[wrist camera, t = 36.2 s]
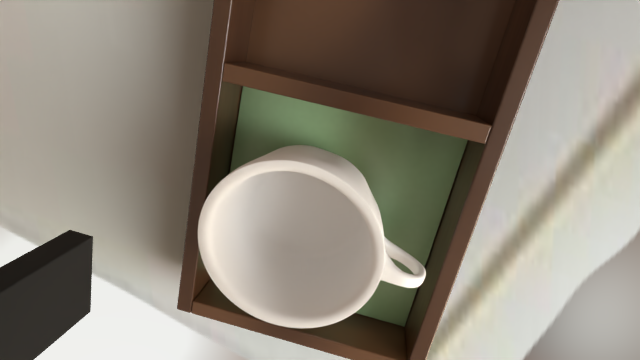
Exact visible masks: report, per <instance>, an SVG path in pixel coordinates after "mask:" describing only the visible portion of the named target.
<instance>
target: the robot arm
mask: <svg viewBox="0 0 640 360" xmlns="http://www.w3.org/2000/svg"><path fill="white" fill-rule="evenodd" d="M92 246H93V236H89V235H86V234H82V233H79V232H75V231H72V230H69V231H67V232H65V233H63V234H61V235H60V236H58V237H56V238H54V239H52V240H50V241H48V242H47V243H45V244H43V245H41V246H39V247H37V248H35V249H34V250H32V251H30V252H28V253H26V254H24V255H22V256H21V257H19V258H17V259H15V260H13V261H11V262H10V263H8V264H6V265H4V266H2V267H0V360H34V359H35V358H36V357H37V356H38V355H40V354H41V353H42V352H43V351H44V350H45V349H47V348H48V347H49V346H50V345H51V344H53V343H54V342H55V341H56V340H57V339H58V338H59V337H61V336H62V335H63V334H64V333H66V332H67V331H68V330H69V329H70V328H71V327H73V326H74V325H75V324H76V323H77V322H78V321H79V320H81V319H82V318H83V317H84V316H85V315H87V314H88V313H89V312H90V305H91V275H92Z"/></svg>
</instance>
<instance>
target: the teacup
mask: <svg viewBox="0 0 640 360" xmlns="http://www.w3.org/2000/svg"><path fill="white" fill-rule="evenodd" d="M198 244H199V250H200V254H201V257H202V260H203V263H204V266H205V268H206V270H207V272H208V274H209V275H210V277H211V279H212V280H213V282H214V283H215V285H216V286H217V287H218V288H219V290H220V291H221V292H222V293H223V294H224V295H225V296H226V297H227V298H228V299H229V300H230V301H231V302H233V303H234V304H235V305H236V306H238V307H239V308H240V309H242V310H244V311H245V312H247V313H248V314H250V315H252V316H254V317H256V318H258V319H261V320H263V321H266V322H268V323H271V324H275V325H279V326H284V327H290V328H316V327H322V326H327V325H330V324H333V323H336V322H339V321H341V320H343V319H345V318H347V317H349V316H351V315H352V314H354V313H355V312H356V311H358V310H359V309H360V308H361V307H362V306H363V305H364V304H365V303H366V302H367V301H368V300H369V299H370V298H371V296H372V295H373V293H374V292H375V290H376V288H377V286H378V284H379V282H380V280H382V281H386V282H389V283H392V284H395V285H398V286H402V287H407V288H416V287H418V286H420V285H421V284H422V283H423V281H424V279H425V276H426V271H425V268H424V266H423V265H422V264H421V263H420V262H419V261H418V260H416V259H415V258H414V257H412V256H411V255H410V254H408V253H407V252H405V251H404V250H402V249H401V248H399V247H398V246H396V245H395V244H393V243H392V242H391V241H389V240H388V239H387V238H385V237H384V231H383V224H382V219H381V214H380V211H379V208H378V205H377V203H376V201H375V199H374V197H373V195H372V193H371V190H370V188H369V186H368V184H367V182H366V180H365V178H364V176H363V175H362V173H361V172H360V171H359V170H358V169H357V168H356V167H355V166H354V165H353V164H352V163H350V162H349V161H348V160H346V159H344V158H343V157H341V156H339V155H336V154H334V153H331V152H328V151H326V150H323V149H320V148H317V147H313V146H308V145H292V146H286V147H282V148H279V149H277V150H275V151H272V152H270V153H268V154H266V155H264V156H262V157H259V158H257V159H255V160H252V161H250V162H248V163H246V164H244V165H242V166H240V167H239V168H237V169H235V170H234V171H232V172H231V173H230V174H229V175H227V176H226V177H225V178H224V179H223V180H221V181H220V182H219V183H218V184H217V185H216V186H215V188H214V189H213V190H212V191H211V193H210V194H209V196H208V197H207V199H206V201H205V203H204V205H203V208H202V210H201V214H200V218H199V223H198ZM390 258H393V259H395V260H397V261H399V262H401V263H402V264H404V265H405V266H406V267H408V268H409V269H410V270H411V271H412V272H413V274H414V275H413V274H408V273H406V272H404V271H402V270H400V269H399V268H398V267H397V266H396V265H395V264H394V263H393V262H392V260H391V259H390Z"/></svg>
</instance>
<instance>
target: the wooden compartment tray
mask: <svg viewBox="0 0 640 360" xmlns="http://www.w3.org/2000/svg"><path fill="white" fill-rule="evenodd" d="M558 2H559V0H214V5H213V14H212V22H211V30H210V39H209V47H208V55H207V64H206V72H205V80H204V89H203V97H202V105H201V114H200V122H199V130H198V139H197V147H196V155H195V164H194V172H193V180H192V189H191V197H190V205H189V214H188V222H187V230H186V239H185V247H184V255H183V264H182V272H181V280H180V289H179V297H178V305H177V309H179V310H182V311H186V312H189V313H190V312H192V313H193V314H196V315H200V316H203V317H207V318H210V319H214V320H217V321H220V322H224V323H227V324H231V325H234V326H238V327H241V328H245V329H248V330H251V331H255V332H258V333H262V334H265V335H269V336H272V337H276V338H279V339H282V340H286V341H289V342H293V343H296V344H300V345H303V346H306V347H310V348H313V349H317V350H320V351H324V352H327V353H331V354H334V355H337V356H341V357H344V358H348V359H351V360H426V358H427V355H428V353H429V350H430V347H431V345H432V342H433V339H434V337H435V334H436V331H437V329H438V326H439V323H440V320H441V318H442V315H443V312H444V310H445V307H446V304H447V302H448V299H449V296H450V294H451V291H452V288H453V285H454V283H455V280H456V277H457V275H458V272H459V269H460V267H461V264H462V261H463V258H464V256H465V253H466V250H467V248H468V245H469V242H470V240H471V237H472V234H473V232H474V229H475V226H476V223H477V221H478V218H479V215H480V213H481V210H482V207H483V205H484V202H485V199H486V196H487V194H488V191H489V188H490V186H491V183H492V180H493V178H494V175H495V172H496V170H497V167H498V164H499V161H500V159H501V156H502V153H503V151H504V148H505V145H506V143H507V140H508V137H509V135H510V132H511V129H512V126H513V124H514V121H515V118H516V116H517V113H518V110H519V108H520V105H521V102H522V99H523V97H524V94H525V91H526V89H527V86H528V83H529V81H530V78H531V75H532V73H533V70H534V67H535V64H536V62H537V59H538V56H539V54H540V51H541V48H542V46H543V43H544V40H545V38H546V35H547V32H548V29H549V27H550V24H551V21H552V19H553V16H554V13H555V11H556V8H557V5H558ZM292 145H308V146H313V147H317V148H320V149H323V150H326V151H328V152H331V153H334V154H336V155H339V156H341V157H343V158H344V159H346V160H348V161H349V162H350V163H352V164H353V165H354V166H355V167H356V168H357V169H358V170H359V171H360V172H361V173H362V175H363V176H364V178H365V180H366V182H367V184H368V186H369V188H370V190H371V193H372V195H373V197H374V199H375V201H376V203H377V205H378V208H379V211H380V214H381V219H382V224H383V231H384V237H385V238H387V239H388V240H389V241H391V242H392V243H393V244H395V245H396V246H398V247H399V248H401V249H402V250H404V251H405V252H407V253H408V254H410V255H411V256H412V257H414V258H415V259H416V260H418V261H419V262H420V263H421V264H422V265H423V266H424V268H425V271H426V276H425V279H424V281H423V283H422V284H421V285H420V286H418V287H416V288H407V287H402V286H398V285H395V284H392V283H389V282H386V281H382V280H380V282H379V284H378V286H377V288H376V290H375V292H374V293H373V295H372V296H371V298H370V299H369V300H368V301H367V302H366V303H365V304H364V305H363V306H362V307H361V308H360V309H359V310H358V311H356V312H355V313H354V314H352V315H351V316H349V317H347V318H345V319H343V320H341V321H339V322H336V323H333V324H330V325H327V326H322V327H316V328H290V327H284V326H279V325H275V324H271V323H268V322H266V321H263V320H261V319H258V318H256V317H254V316H252V315H250V314H248V313H247V312H245V311H244V310H242V309H240V308H239V307H238V306H236V305H235V304H234V303H233V302H231V301H230V300H229V299H228V298H227V297H226V296H225V295H224V294H223V293H222V292H221V291H220V290H219V288H218V287H217V286H216V285H215V283H214V282H213V280H212V279H211V277H210V275H209V274H208V272H207V270H206V268H205V266H204V263H203V260H202V257H201V254H200V250H199V244H198V223H199V218H200V214H201V210H202V208H203V205H204V203H205V201H206V199H207V197H208V196H209V194H210V193H211V191H212V190H213V189H214V188H215V186H216V185H217V184H218V183H219V182H220V181H221V180H223V179H224V178H225V177H226V176H227V175H229V174H230V173H231V172H232V171H234V170H235V169H237V168H239V167H240V166H242V165H244V164H246V163H248V162H250V161H252V160H255V159H257V158H259V157H262V156H264V155H266V154H268V153H270V152H272V151H275V150H277V149H279V148H282V147H286V146H292ZM390 259H391V260H392V262H393V263H394V264H395V265H396V266H397V267H398V268H399V269H400V270H402V271H404V272H406V273H408V274H413V272H412V271H411V270H410V269H409V268H408V267H406V266H405V265H404V264H402V263H401V262H399V261H397V260H395V259H393V258H390ZM413 275H414V274H413Z"/></svg>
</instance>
